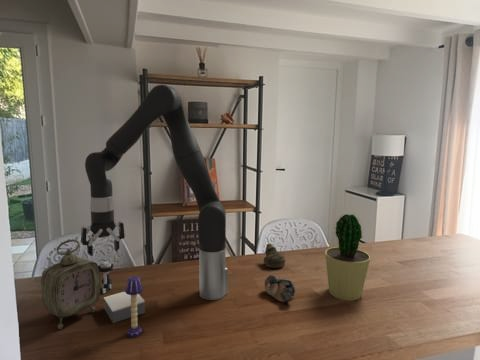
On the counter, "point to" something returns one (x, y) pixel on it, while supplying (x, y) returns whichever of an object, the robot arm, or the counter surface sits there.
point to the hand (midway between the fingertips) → (104, 252)
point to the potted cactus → (347, 261)
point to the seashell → (273, 257)
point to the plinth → (122, 306)
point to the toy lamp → (134, 305)
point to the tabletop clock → (70, 285)
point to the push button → (106, 275)
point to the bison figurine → (280, 288)
